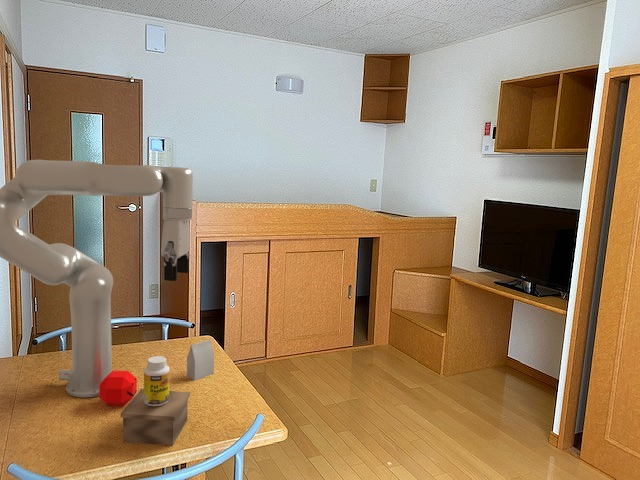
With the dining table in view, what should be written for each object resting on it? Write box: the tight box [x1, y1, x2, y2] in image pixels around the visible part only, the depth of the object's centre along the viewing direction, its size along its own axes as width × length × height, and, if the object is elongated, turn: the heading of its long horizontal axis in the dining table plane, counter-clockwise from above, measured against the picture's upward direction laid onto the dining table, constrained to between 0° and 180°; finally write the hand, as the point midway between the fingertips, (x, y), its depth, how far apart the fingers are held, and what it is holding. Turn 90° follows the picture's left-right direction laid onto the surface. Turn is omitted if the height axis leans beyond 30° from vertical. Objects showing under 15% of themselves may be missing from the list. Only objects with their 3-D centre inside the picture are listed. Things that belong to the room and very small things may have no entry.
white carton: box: [186, 339, 215, 381], centre depth 145 cm, size 4×7×10 cm, turn 140°
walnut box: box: [120, 388, 191, 446], centre depth 115 cm, size 12×12×7 cm
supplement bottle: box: [143, 355, 171, 407], centre depth 114 cm, size 6×6×10 cm
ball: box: [98, 370, 138, 407], centre depth 127 cm, size 8×8×8 cm
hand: (176, 276), depth 137 cm, fingers open, 9 cm apart
